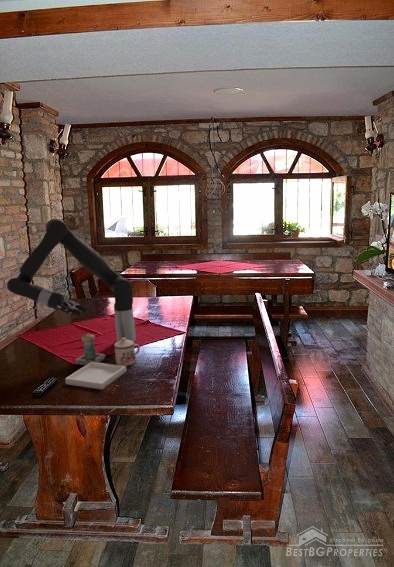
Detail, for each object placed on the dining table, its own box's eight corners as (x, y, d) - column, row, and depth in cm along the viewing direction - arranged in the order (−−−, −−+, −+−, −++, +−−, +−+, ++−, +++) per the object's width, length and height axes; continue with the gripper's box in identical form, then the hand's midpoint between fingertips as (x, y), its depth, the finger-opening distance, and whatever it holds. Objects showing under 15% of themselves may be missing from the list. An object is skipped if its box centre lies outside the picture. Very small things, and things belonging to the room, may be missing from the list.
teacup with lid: (121, 368, 199) (118, 343, 196) (112, 362, 206) (109, 338, 204) (145, 360, 206) (143, 336, 203) (135, 355, 213) (133, 332, 210)
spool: (89, 357, 213) (86, 333, 210) (99, 359, 211) (97, 334, 208) (81, 362, 208) (78, 337, 205) (92, 364, 205) (89, 339, 203)
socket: (88, 356, 215) (88, 352, 215) (105, 358, 212) (104, 354, 211) (75, 363, 207) (75, 359, 206) (93, 366, 203) (92, 361, 203)
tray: (92, 367, 202) (91, 361, 201) (126, 371, 195) (126, 366, 194) (65, 384, 186) (65, 378, 185) (102, 389, 179) (101, 383, 178)
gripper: (47, 293, 199) (81, 307, 199) (59, 289, 213) (90, 301, 213) (41, 309, 200) (75, 322, 200) (54, 303, 214) (85, 316, 214)
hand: (83, 311), depth 207 cm, fingers open, 8 cm apart
